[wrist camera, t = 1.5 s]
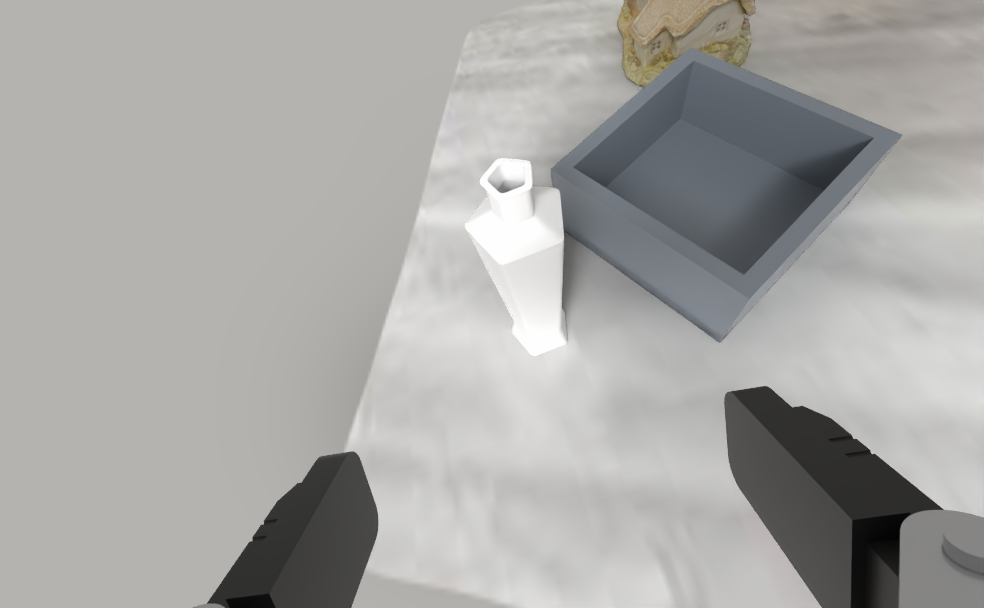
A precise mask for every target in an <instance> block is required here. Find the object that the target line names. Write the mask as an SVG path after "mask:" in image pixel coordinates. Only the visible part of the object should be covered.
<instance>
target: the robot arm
mask: <svg viewBox="0 0 984 608" xmlns="http://www.w3.org/2000/svg"><path fill="white" fill-rule="evenodd" d="M724 403H725V418H726V431H727V445H728V457H729V463H730V467H731V470H732V473H733V476H734V478H735V481H736V483H737V485H738V487H739V488H740V490H741V491H742V493H743V494H744V496H745V497H746V498H747V500H748V501H749V503H750V504H751V506H752V507H753V509H754V510H755V511H756V513H757V514H758V516H759V517H760V519H761V520H762V522H763V523H764V524H765V526H766V527H767V529H768V530H769V532H770V533H771V535H772V536H773V537H774V539H775V540H776V542H777V543H778V545H779V546H780V548H781V549H782V550H783V552H784V553H785V555H786V556H787V558H788V559H789V561H790V562H791V564H792V565H793V566H794V568H795V569H796V571H797V572H798V574H799V575H800V577H801V578H802V579H803V581H804V582H805V584H806V585H807V587H808V588H809V590H810V591H811V592H812V594H813V595H814V597H815V598H816V600H817V601H818V603H819V604H820V605H821V607H822V608H984V518H983V517H979V516H976V515H972V514H968V513H963V512H958V511H949V510H943V509H942V508H941V507H940V506H938V505H937V504H936V503H935V502H933V501H932V500H931V499H930V498H929V497H927V496H926V495H925V494H924V493H922V492H921V491H920V490H919V489H917V488H916V487H915V486H914V485H913V484H911V483H910V482H909V481H908V480H906V479H905V478H904V477H903V476H901V475H900V474H899V473H898V472H896V471H895V470H894V469H893V468H892V467H890V466H889V465H888V464H887V463H885V462H884V461H883V460H882V459H880V458H879V457H878V456H877V455H876V454H871V452H870V450H869V449H868V448H867V447H866V446H864V445H863V444H862V443H861V442H859V441H858V440H857V439H853V437H852V435H851V434H850V433H848V432H847V431H846V430H845V429H843V428H842V427H841V426H840V425H838V424H837V423H836V422H835V421H834V420H832V419H831V418H829V417H826V416H824V415H822V414H820V413H817V412H815V411H813V410H810V409H808V408H806V407H804V406H800V407H793V408H792V407H791V406H790V405H789V404H788V403H786V402H785V401H784V400H783V399H782V398H781V397H780V396H779V395H777V394H776V393H775V392H774V391H773V390H772V389H770V388H769V387H767V386H763V387H756V388H750V389H744V390H738V391H731V392H727V393H726V395H725V401H724ZM377 532H378V512H377V508H376V504H375V501H374V498H373V496H372V493H371V490H370V487H369V484H368V481H367V478H366V475H365V472H364V469H363V466H362V463H361V461H360V458H359V456H358V455H357V454H356V453H355V452H346V453H340V454H333V455H327V456H321V457H319V458H318V459H317V460H316V462H315V463H314V465H313V466H312V468H311V469H310V471H309V472H308V474H307V476H306V477H305V478H304V480H303V482H302V483H298V484H296V485H295V486H294V487H293V488H292V489H291V490H290V491H289V492H287V493H286V494H285V495H284V496H283V497H282V498H281V499H280V500H278V501H277V503H276V504H275V506H274V507H273V509H272V510H271V511H270V513H269V514H268V516H267V517H266V519H265V520H264V525H261V526H260V527H259V529H258V530H257V532H256V533H255V535H254V536H253V541H252V542H249V543H248V545H247V546H246V548H245V549H244V551H243V552H242V553H241V555H240V556H239V558H238V560H237V561H236V562H235V564H234V565H233V566H232V568H231V570H230V571H229V572H228V574H227V575H226V577H225V578H224V580H223V581H222V582H221V584H220V585H219V587H218V588H217V590H216V592H215V593H214V594H213V596H212V597H211V598H210V600H209V601H208V603H207V604H203V605H200V606H197V607H193V608H351V606H352V604H353V601H354V598H355V595H356V592H357V590H358V587H359V584H360V581H361V579H362V576H363V573H364V570H365V568H366V565H367V562H368V559H369V557H370V554H371V551H372V548H373V546H374V543H375V540H376V537H377Z"/></svg>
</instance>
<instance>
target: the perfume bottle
mask: <svg viewBox="0 0 984 608" xmlns="http://www.w3.org/2000/svg"><path fill="white" fill-rule="evenodd" d="M480 184H481V185H482V186H483V187H484V188H485V189H486V192H487V195H488V196H487V197H486V198H485V199H484V201H483V202H482V203H481V204H480V206H479V207H478V208H477V209H476V211H475V212H474V213H473V214H472V215H471V217H470V218H469V219H468V220H467V222H466V223H465V228H466V230H467V232H468V234H469V236H470V238H471V240H472V242H473V243H474V245H475V247H476V249H477V251H478V253H479V255H480V257H481V259H482V261H483V263H484V265H485V267H486V268H487V270H488V272H489V274H490V276H491V278H492V280H493V282H494V284H495V286H496V288H497V290H498V292H499V293H500V295H501V297H502V299H503V301H504V303H505V305H506V307H507V309H508V311H509V313H510V315H511V317H512V318H513V320H514V322H513V326H512V333H513V334H514V335H515V337H516V338H517V339H518V340H519V341H520V342H521V344H522V345H523V346H524V347H525V348H526V349H527V350H528V352H529V353H530V354H531V355H533V356H535V355H538V354H541V353H544V352H546V351H549V350H551V349H554V348H557V347H559V346H562V345H564V344H566V343H567V329H566V318H565V311H564V310H563V309H562V285H563V254H564V230H563V220H562V209H561V198H560V192H559V190H558V189H556V188H551V187H543V186H535V185H533V179H532V165H531V163H530V162H529V161H526V160H518V159H509V158H499V159H497V160H496V161H495V162H494V163H493V164H492V165H491V167H490V168H489V169H488V170H487V171H486V173H485V174H484V175H483V176H482V178H481V179H480Z"/></svg>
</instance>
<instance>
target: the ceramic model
mask: <svg viewBox="0 0 984 608" xmlns="http://www.w3.org/2000/svg"><path fill="white" fill-rule="evenodd" d="M621 9H622V12H621V14H620V16H619V19H618V28H619V30H620V32H621V34H622V36H623V59H622V65H623V68H624V71H625V74H626V76H627V77H628V78H629V79H630V80H631V81H633V82H634V83H635V84H638V85H642V86H643V87H646V86H647V85H648V84H649V83H650V82H651V81H652V80H654V79H655V78H656V77H657V76H658V75H659V74H660V73H662V72H663V71H664V70H665V69H666V68H667V67H668V66H670V65H671V64H672V63H673V62H674V61H675V60H676V59H678V58H679V57H680V56H681V55H682V54H683V53H684V52H686V51H687V50H688V49H689V48H690V47H691V48H693V49H696V50H698V51H701V52H703V53H706V54H708V55H710V56H713V57H715V58H718V59H720V60H723V61H725V62H727V63H730V64H732V65H735V66H737V67H739V66H740V65H741V64H742V63H743V62H744V61H745V60H746V57H747V55H748V50H749V48H750V46H751V43H752V37H751V33H750V24H749V21H748V19H747V18H745V16H744V13H745V14H746V15H749V16H750V15H752V14H754V13H755V10H756V8H755V0H625V2H624V4H623V6H622V8H621Z"/></svg>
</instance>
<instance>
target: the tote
mask: <svg viewBox="0 0 984 608" xmlns="http://www.w3.org/2000/svg"><path fill="white" fill-rule="evenodd" d="M901 136H902V135H901V134H899V133H897V132H894V131H892V130H889V129H887V128H885V127H882V126H880V125H877V124H875V123H872V122H870V121H868V120H865V119H863V118H860V117H858V116H856V115H853V114H851V113H848V112H846V111H843V110H841V109H839V108H836V107H834V106H831V105H829V104H826V103H824V102H822V101H819V100H817V99H814V98H812V97H810V96H807V95H805V94H802V93H800V92H797V91H795V90H793V89H790V88H788V87H785V86H783V85H781V84H778V83H776V82H773V81H771V80H768V79H766V78H764V77H761V76H759V75H756V74H754V73H752V72H749V71H747V70H744V69H742V68H739V67H737V66H735V65H732V64H730V63H727V62H725V61H723V60H720V59H718V58H715V57H713V56H710V55H708V54H706V53H703V52H701V51H698V50H696V49H693V48H691V47H690V48H689V49H688V50H687V51H686V52H684V53H683V54H682V55H681V56H680V57H679V58H678V59H676V60H675V61H674V62H673V63H672V64H671V65H670V66H668V67H667V68H666V69H665V70H664V71H663V72H662V73H660V74H659V75H658V76H657V77H656V78H655V79H654V80H652V81H651V82H650V83H649V84H648V85H647V86H646V87H644V88H643V89H642V90H641V91H640V92H639V93H638V94H636V95H635V96H634V97H633V98H632V99H631V100H630V101H628V102H627V103H626V104H625V105H624V106H623V107H622V108H620V109H619V110H618V111H617V112H616V113H615V114H614V115H612V116H611V117H610V118H609V119H608V120H607V121H606V122H604V123H603V124H602V125H601V126H600V127H599V128H598V129H596V130H595V131H594V132H593V133H592V134H591V135H590V136H588V137H587V138H586V139H585V140H584V141H583V142H582V143H580V144H579V145H578V146H577V147H576V148H575V149H574V150H572V151H571V152H570V153H569V154H568V155H567V156H566V157H564V158H563V159H562V160H561V161H560V162H559V163H558V164H556V165H555V166H554V167H553V168H552V169H551V177H552V187H553V188H556V189H558V190H559V192H560V198H561V209H562V220H563V230H564V231H565V232H567V233H568V234H570V235H571V236H572V237H574V238H575V239H577V240H578V241H579V242H581V243H582V244H584V245H585V246H586V247H588V248H589V249H590V250H592V251H593V252H595V253H596V254H597V255H599V256H600V257H602V258H603V259H604V260H606V261H607V262H609V263H610V264H611V265H613V266H614V267H615V268H617V269H618V270H620V271H621V272H622V273H624V274H625V275H627V276H628V277H629V278H631V279H632V280H634V281H635V282H636V283H638V284H639V285H640V286H642V287H643V288H645V289H646V290H647V291H649V292H650V293H652V294H653V295H654V296H656V297H657V298H659V299H660V300H661V301H663V302H664V303H665V304H667V305H668V306H670V307H671V308H672V309H674V310H675V311H677V312H678V313H679V314H681V315H682V316H684V317H685V318H686V319H688V320H689V321H690V322H692V323H693V324H695V325H696V326H697V327H699V328H700V329H702V330H703V331H704V332H706V333H707V334H709V335H710V336H711V337H713V338H714V339H715V340H717V341H718V342H721V341H722V340H723V339H724V338H725V337H726V335H727V334H728V333H729V332H730V331H731V330H732V329H733V328H734V327H735V326H736V325H737V324H738V322H739V321H740V320H741V319H742V318H743V317H744V316H745V315H746V314H747V313H748V312H749V311H750V310H751V308H752V307H753V306H754V305H755V304H756V303H757V302H758V301H759V300H760V299H761V298H762V297H763V295H764V294H765V293H766V292H767V291H768V290H769V289H770V288H771V287H772V286H773V285H774V284H775V282H776V281H777V280H778V279H779V278H780V277H781V276H782V275H783V274H784V273H785V272H786V271H787V270H788V268H789V267H790V266H791V265H792V264H793V263H794V262H795V261H796V260H797V259H798V258H799V257H800V255H801V254H802V253H803V252H804V251H805V250H806V249H807V248H808V247H809V246H810V245H811V244H812V242H813V241H814V240H815V239H816V238H817V237H818V236H819V235H820V234H821V233H822V232H823V231H824V230H825V228H826V227H827V226H828V225H829V224H830V223H831V222H832V221H833V220H834V219H835V218H836V217H837V215H838V214H839V213H840V212H841V211H842V210H843V209H844V208H845V207H846V206H847V205H848V204H849V203H850V201H851V200H852V199H853V197H854V196H855V195H856V194H857V192H858V191H859V190H860V188H861V187H862V186H863V185H864V183H865V182H866V181H867V180H868V178H869V177H870V176H871V174H872V173H873V172H874V171H875V169H876V168H877V167H878V166H879V164H880V163H881V162H882V160H883V159H884V158H885V157H886V155H887V154H888V153H889V152H890V150H891V149H892V148H893V146H894V145H895V144H896V143H897V141H898V140H899V139H900V138H901Z"/></svg>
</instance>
